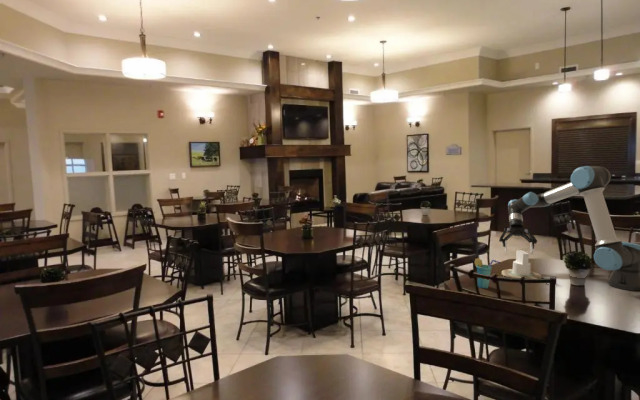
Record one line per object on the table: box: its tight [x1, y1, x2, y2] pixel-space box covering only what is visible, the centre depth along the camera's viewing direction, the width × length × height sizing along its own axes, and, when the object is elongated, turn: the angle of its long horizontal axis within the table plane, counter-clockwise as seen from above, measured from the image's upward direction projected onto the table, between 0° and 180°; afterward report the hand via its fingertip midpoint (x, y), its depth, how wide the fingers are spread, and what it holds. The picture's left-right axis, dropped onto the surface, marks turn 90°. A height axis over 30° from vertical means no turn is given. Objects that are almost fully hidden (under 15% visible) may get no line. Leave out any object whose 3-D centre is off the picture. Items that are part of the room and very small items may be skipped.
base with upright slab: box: [512, 249, 532, 275], centre depth 243 cm, size 9×9×12 cm
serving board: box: [501, 268, 542, 280], centre depth 244 cm, size 20×20×2 cm
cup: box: [473, 257, 501, 289], centre depth 222 cm, size 14×8×15 cm, turn 41°
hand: (519, 252), depth 252 cm, fingers open, 13 cm apart
